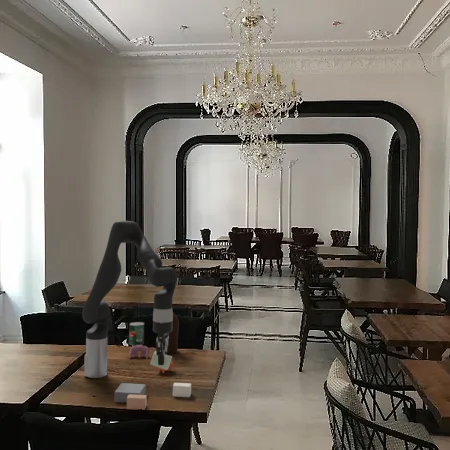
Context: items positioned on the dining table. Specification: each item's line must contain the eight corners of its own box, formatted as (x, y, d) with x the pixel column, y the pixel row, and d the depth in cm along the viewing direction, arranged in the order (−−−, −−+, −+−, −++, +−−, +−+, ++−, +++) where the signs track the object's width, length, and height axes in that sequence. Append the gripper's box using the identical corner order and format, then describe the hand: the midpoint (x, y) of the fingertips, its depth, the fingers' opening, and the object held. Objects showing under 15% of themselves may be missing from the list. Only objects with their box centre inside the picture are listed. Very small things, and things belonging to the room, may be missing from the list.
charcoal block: (114, 401, 209) (114, 392, 209) (121, 392, 219) (121, 383, 219) (139, 403, 208) (139, 393, 208) (145, 393, 218) (145, 384, 218)
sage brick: (149, 364, 204) (153, 353, 204) (152, 361, 207) (155, 350, 207) (167, 370, 204) (170, 359, 203) (168, 367, 207) (172, 356, 207)
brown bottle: (165, 355, 269) (165, 307, 268) (154, 350, 278) (154, 303, 276) (182, 352, 276) (183, 304, 275) (171, 347, 284) (171, 301, 283)
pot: (169, 366, 252) (171, 354, 250) (174, 376, 245) (176, 362, 243) (153, 368, 248) (154, 355, 247) (157, 377, 242) (159, 364, 240)
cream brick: (172, 396, 216) (172, 385, 216) (174, 393, 220) (174, 382, 219) (189, 397, 216) (189, 386, 215) (191, 394, 219) (191, 383, 219)
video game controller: (149, 359, 267) (149, 345, 270) (148, 358, 263) (149, 344, 266) (129, 359, 267) (130, 345, 270) (128, 358, 263) (129, 344, 266)
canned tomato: (126, 344, 289) (126, 324, 288) (135, 340, 296) (135, 321, 295) (138, 346, 285) (138, 326, 285) (146, 342, 292) (147, 323, 291)
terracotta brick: (126, 409, 202) (126, 397, 202) (128, 405, 206) (128, 394, 206) (144, 410, 202) (145, 398, 202) (146, 406, 206) (146, 395, 205)
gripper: (157, 314, 212) (156, 357, 213) (149, 323, 198) (148, 368, 199) (175, 315, 211) (174, 358, 212) (168, 324, 197) (168, 369, 198)
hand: (162, 363), depth 205 cm, fingers closed on sage brick, 3 cm apart
